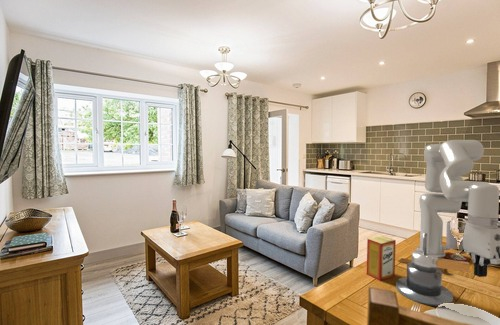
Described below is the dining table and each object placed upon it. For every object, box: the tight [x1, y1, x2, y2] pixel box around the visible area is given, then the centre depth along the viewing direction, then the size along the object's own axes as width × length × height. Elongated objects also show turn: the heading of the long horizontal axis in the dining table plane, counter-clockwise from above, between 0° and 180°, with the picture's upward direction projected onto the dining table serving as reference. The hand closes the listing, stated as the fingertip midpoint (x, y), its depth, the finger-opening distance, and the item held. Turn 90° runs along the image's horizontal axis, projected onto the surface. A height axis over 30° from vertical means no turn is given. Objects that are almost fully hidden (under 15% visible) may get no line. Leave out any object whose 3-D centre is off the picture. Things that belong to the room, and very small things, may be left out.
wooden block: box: [411, 233, 471, 273], centre depth 97 cm, size 18×8×13 cm, turn 66°
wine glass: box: [445, 220, 464, 251], centre depth 146 cm, size 10×10×15 cm
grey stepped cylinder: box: [395, 262, 454, 307], centre depth 99 cm, size 18×18×10 cm
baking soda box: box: [366, 235, 397, 282], centre depth 113 cm, size 10×6×16 cm
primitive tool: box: [397, 257, 448, 275], centre depth 122 cm, size 19×6×4 cm, turn 45°
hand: (480, 275), depth 87 cm, fingers closed
